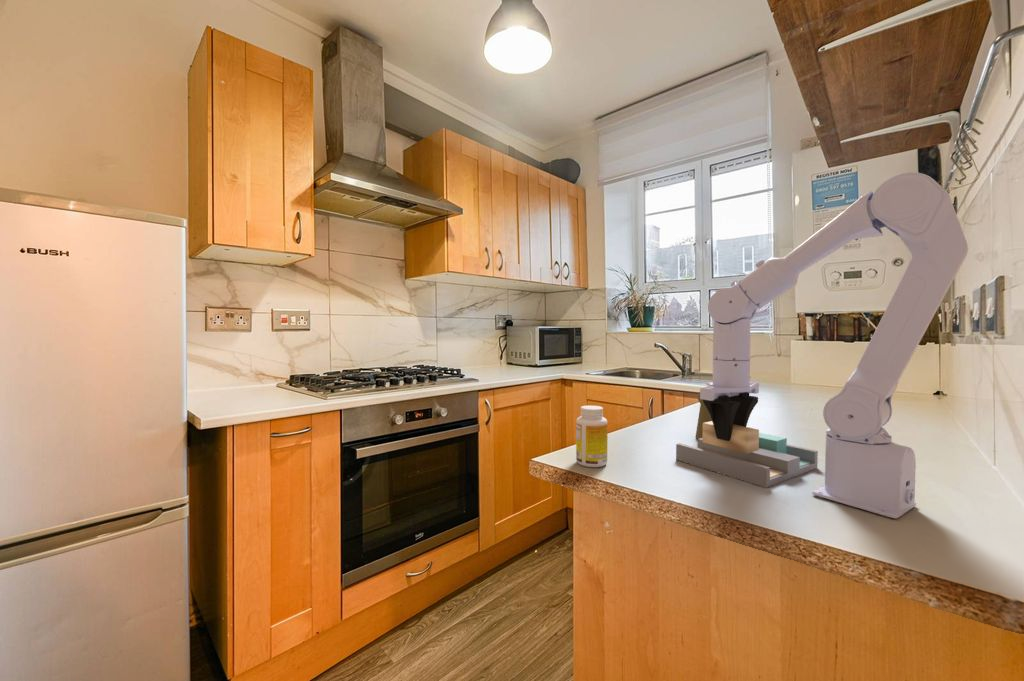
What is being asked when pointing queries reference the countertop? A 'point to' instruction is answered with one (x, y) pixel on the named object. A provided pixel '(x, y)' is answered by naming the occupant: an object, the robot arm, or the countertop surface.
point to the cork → (702, 418)
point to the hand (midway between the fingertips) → (730, 437)
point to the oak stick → (733, 438)
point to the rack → (750, 462)
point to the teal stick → (772, 443)
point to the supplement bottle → (591, 437)
